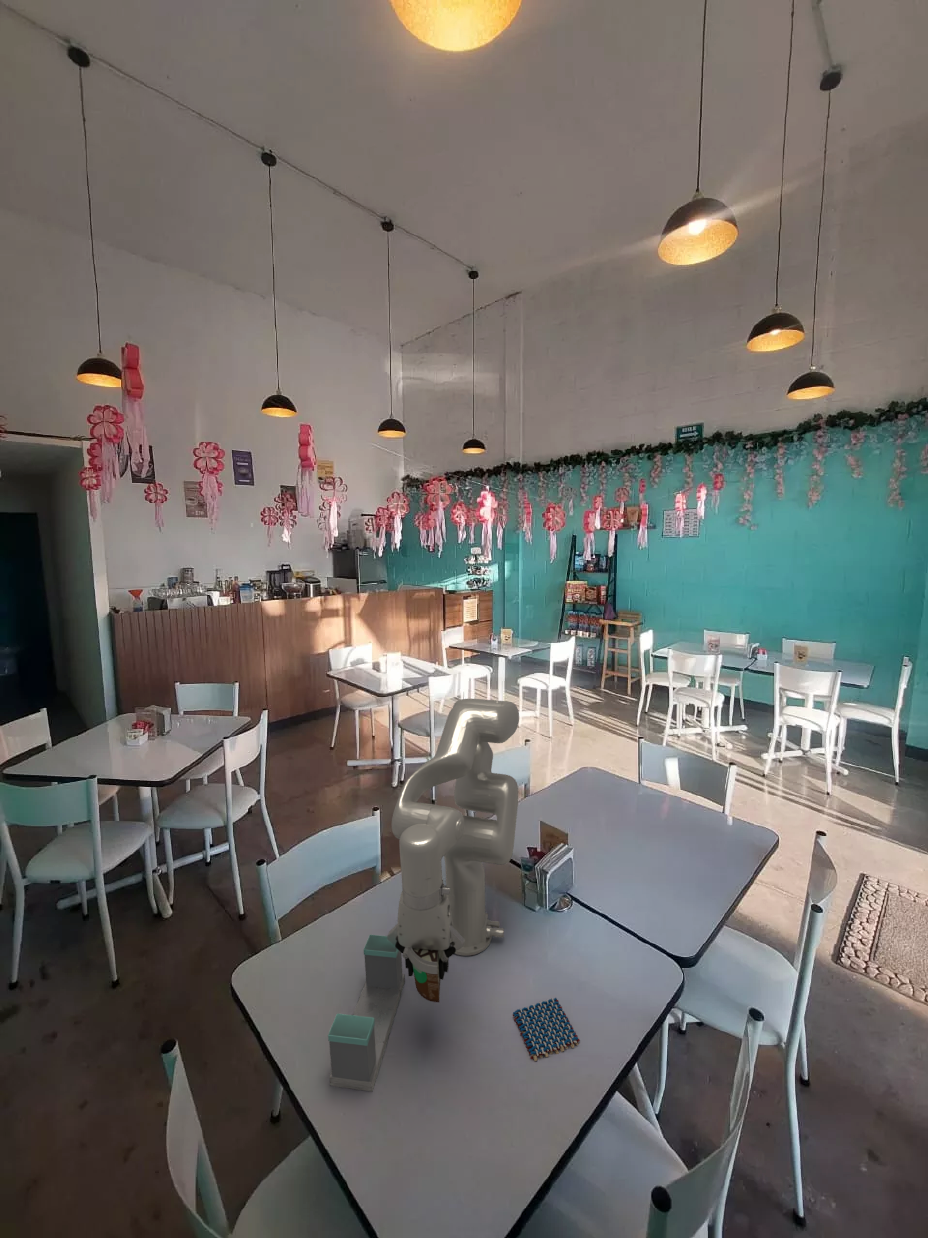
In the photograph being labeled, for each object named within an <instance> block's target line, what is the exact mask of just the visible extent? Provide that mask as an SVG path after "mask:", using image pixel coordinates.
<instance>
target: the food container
mask: <svg viewBox="0 0 928 1238" xmlns="http://www.w3.org/2000/svg"><path fill="white" fill-rule="evenodd" d="M407 953H408V957H409V959H410V961H411V963H412V964H413V979H414V985H415V989H416V992H417V993H418V995H420V996H421V998H423V999H425V1000H426V1001H428V1002H433V1003H440V998H441V996H440V995H441V979H440V977H439V959H440V956H439V953H438V950H429V949H418V948H412V947H411V948H409V947H408V950H407Z"/></svg>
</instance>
